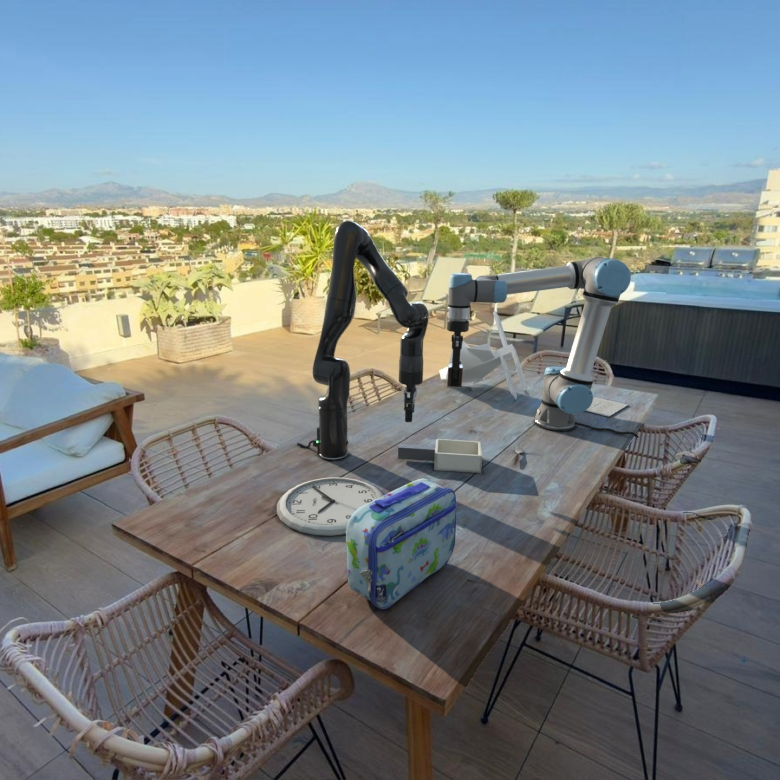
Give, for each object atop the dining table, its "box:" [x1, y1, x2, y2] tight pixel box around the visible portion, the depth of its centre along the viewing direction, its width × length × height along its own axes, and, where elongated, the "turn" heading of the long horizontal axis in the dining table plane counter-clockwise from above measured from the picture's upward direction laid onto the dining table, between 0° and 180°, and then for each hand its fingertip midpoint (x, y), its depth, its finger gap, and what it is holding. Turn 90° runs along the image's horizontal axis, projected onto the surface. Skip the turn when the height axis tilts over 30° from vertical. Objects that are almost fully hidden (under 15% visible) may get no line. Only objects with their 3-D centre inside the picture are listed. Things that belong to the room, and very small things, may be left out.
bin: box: [397, 438, 483, 474], centre depth 169 cm, size 27×12×6 cm, turn 83°
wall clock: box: [276, 476, 385, 537], centre depth 142 cm, size 30×2×30 cm
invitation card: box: [585, 396, 629, 418], centre depth 226 cm, size 21×1×15 cm
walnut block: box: [446, 363, 463, 388], centre depth 186 cm, size 5×5×7 cm
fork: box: [514, 442, 525, 466], centre depth 175 cm, size 3×16×2 cm, turn 160°
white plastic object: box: [438, 310, 531, 400], centre depth 245 cm, size 37×45×31 cm
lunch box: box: [345, 477, 457, 610], centre depth 110 cm, size 26×11×21 cm, turn 134°
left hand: (409, 416), depth 167 cm, fingers open, 8 cm apart
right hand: (454, 384), depth 187 cm, fingers closed on walnut block, 5 cm apart
